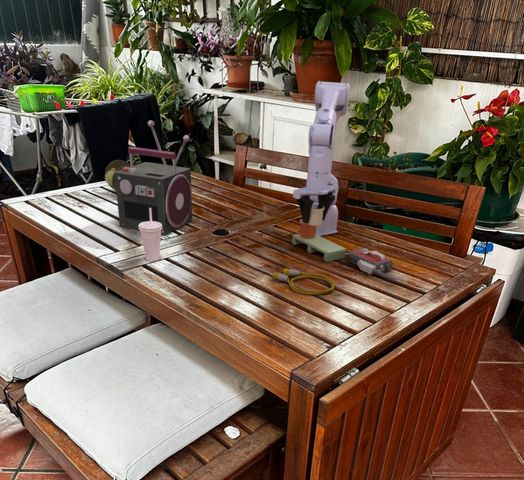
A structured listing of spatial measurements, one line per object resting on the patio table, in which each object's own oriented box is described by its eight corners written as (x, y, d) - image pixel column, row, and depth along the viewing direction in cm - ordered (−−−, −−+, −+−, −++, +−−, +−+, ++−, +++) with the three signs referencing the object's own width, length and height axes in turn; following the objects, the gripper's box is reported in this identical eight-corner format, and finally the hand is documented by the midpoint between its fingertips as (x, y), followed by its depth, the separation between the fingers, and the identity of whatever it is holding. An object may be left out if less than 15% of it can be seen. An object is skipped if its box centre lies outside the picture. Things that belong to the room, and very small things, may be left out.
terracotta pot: (309, 232, 161) (310, 217, 159) (320, 237, 157) (321, 222, 155) (294, 234, 158) (296, 219, 156) (305, 240, 155) (307, 224, 152)
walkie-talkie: (338, 261, 149) (392, 286, 135) (340, 246, 146) (395, 270, 133) (359, 255, 153) (413, 279, 140) (361, 241, 151) (416, 263, 138)
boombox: (116, 227, 165) (105, 126, 149) (151, 210, 182) (145, 118, 166) (165, 236, 160) (159, 133, 144) (197, 218, 176) (194, 124, 161)
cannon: (164, 185, 211) (162, 156, 205) (174, 193, 203) (173, 163, 197) (103, 191, 200) (99, 160, 194) (111, 199, 192) (107, 167, 186)
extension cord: (303, 268, 143) (303, 261, 142) (343, 288, 133) (344, 281, 132) (268, 278, 136) (269, 271, 135) (308, 300, 126) (309, 292, 125)
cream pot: (314, 218, 150) (316, 202, 148) (326, 224, 146) (328, 207, 144) (299, 221, 147) (301, 205, 145) (311, 227, 143) (313, 210, 141)
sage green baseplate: (309, 240, 163) (310, 231, 162) (345, 257, 151) (346, 248, 150) (291, 243, 160) (292, 234, 158) (327, 262, 148) (328, 252, 146)
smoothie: (168, 256, 146) (165, 207, 139) (157, 264, 141) (153, 213, 134) (148, 252, 148) (144, 204, 140) (136, 260, 142) (132, 210, 135)
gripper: (306, 177, 133) (301, 228, 140) (348, 172, 140) (341, 221, 147) (289, 171, 138) (286, 221, 145) (331, 167, 145) (325, 214, 152)
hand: (313, 221), depth 146 cm, fingers closed on cream pot, 5 cm apart
